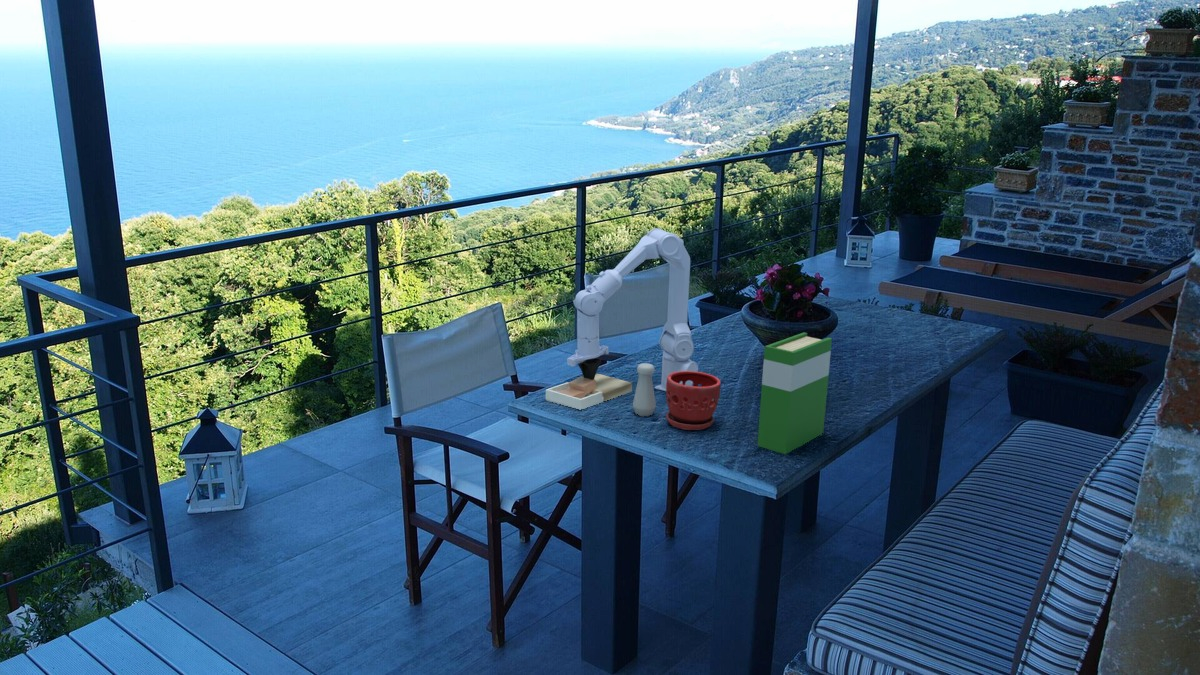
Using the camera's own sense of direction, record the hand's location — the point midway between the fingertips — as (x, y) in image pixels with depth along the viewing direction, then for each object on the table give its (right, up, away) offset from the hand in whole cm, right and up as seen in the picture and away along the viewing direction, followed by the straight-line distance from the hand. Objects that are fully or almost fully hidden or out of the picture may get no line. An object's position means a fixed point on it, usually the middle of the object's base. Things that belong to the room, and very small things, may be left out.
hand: (588, 385), depth 248 cm
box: (-4, -4, -3) cm, 6 cm away
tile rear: (-1, -1, -1) cm, 2 cm away
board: (+3, -2, +5) cm, 6 cm away
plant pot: (+25, -9, -18) cm, 32 cm away
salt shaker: (+14, -7, -11) cm, 19 cm away
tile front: (-5, -4, -5) cm, 8 cm away
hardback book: (+48, -12, -26) cm, 56 cm away
